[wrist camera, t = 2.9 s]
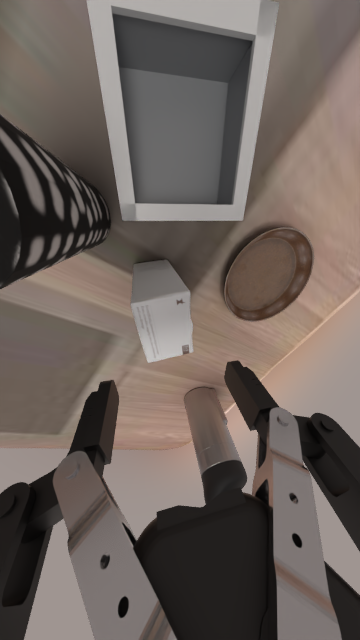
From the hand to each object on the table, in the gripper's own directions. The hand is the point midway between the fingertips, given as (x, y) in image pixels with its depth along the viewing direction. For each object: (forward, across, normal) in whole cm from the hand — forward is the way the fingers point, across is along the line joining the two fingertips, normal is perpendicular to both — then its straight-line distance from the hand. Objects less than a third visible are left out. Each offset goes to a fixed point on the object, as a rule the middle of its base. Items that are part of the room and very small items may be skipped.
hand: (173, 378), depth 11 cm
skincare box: (+21, 0, 0) cm, 21 cm away
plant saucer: (+21, -21, 0) cm, 30 cm away
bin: (+21, -4, -17) cm, 27 cm away
